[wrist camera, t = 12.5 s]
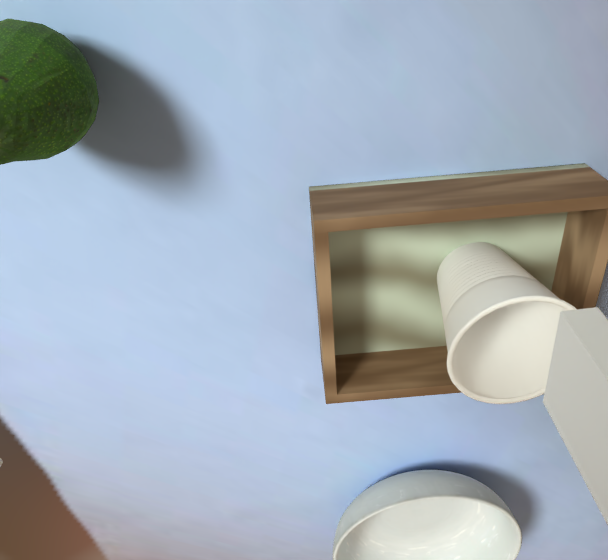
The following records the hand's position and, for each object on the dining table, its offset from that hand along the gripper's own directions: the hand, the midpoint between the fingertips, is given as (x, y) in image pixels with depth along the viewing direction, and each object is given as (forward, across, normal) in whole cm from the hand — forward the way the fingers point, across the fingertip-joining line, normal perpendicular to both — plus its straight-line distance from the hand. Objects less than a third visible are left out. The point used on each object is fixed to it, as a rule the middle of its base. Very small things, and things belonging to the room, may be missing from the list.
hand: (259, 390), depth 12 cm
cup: (+30, +15, -20) cm, 39 cm away
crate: (+31, +12, -20) cm, 39 cm away
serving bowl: (+30, +10, -53) cm, 61 cm away
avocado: (+32, -15, +1) cm, 35 cm away
